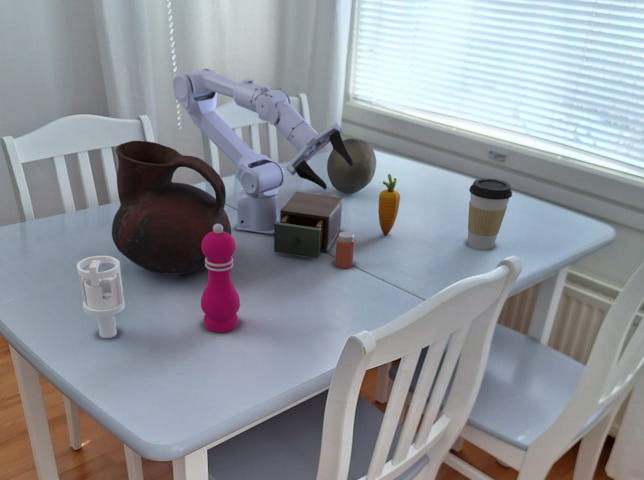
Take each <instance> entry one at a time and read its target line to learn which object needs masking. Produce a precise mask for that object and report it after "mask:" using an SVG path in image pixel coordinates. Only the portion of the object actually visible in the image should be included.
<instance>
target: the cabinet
mask: <svg viewBox="0 0 644 480" xmlns="http://www.w3.org/2000/svg"><path fill="white" fill-rule="evenodd" d="M342 210H343V197H339V196H332V195H325V194H317V193H309V192H302V191H295V193H294V194H293V195H292V196H291V198H289V200H288V201H287V202H286V203H285V204H284V205H283V206H282V207H281V209H280V211H279V221H280V223H281V220H282V219H283V218H284V217H285V216H286V215H287V214H288V215H295V216H302V217H309V218H316V219H323V220H326V222H325V239H324V244H323V245H322V247H321V249H320V251H319V252H324V253H327V252H328V251H329V250H330V248H331V246H332V245H333V243H334V242H335V240H336V239H337V238H338V236H339V233H341V224H342Z"/></svg>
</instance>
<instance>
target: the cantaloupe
mask: <svg viewBox="0 0 644 480" xmlns="http://www.w3.org/2000/svg"><path fill="white" fill-rule="evenodd" d="M342 141H343V143H344V146H345V148H346V150H347V152H348V154H349V156H350V157H351V159H352V160H353V163H354V165H353V166H350V165H349V164H348V163H347V162H346V161H345V159H344V158H343V157H342V156H341V155H340V154H339V153H338V152H337V151H335V150H334V149H333V148H332V150H331V152H330V153H329V156H328V157H327V163H326V171H327V176H328V177H327V178H328V179H329V182H330V184H331V186H332V187H333V188H334V189H335V190H336V191H338V192H340V193H342V194H348V195H349V194H350V195H351V194H355V193H358V192H360V191H362V190H363V189H364V188H366V187H367V186H368V185H369V184H370V183H371V182H372V180H373V178H374V177H375V173H376V171H377V170H376V169H377V156H376V153H375V152H374V149H373V147H372V146H371V144H369V142H367V141H365V140H363V139H359V138H347V139H346V138H345V139H342Z"/></svg>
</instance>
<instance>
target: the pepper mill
mask: <svg viewBox="0 0 644 480" xmlns="http://www.w3.org/2000/svg"><path fill="white" fill-rule="evenodd" d="M201 248H202V252H203V254H204V255H205V256H206V258H205V262H206V263H205V268H206V269H207V272H208V280H207V283H206V286H205V288H204V290H203V292H202V295H201V297H200V298H201V299H200V308H201V311H202V312H203V313H204V316H203V321H204V322H203V324H204V327H205V329H207V330H208V331H210V332H213V333H227V332H232V331H233V330H235V329H236V328H237V327H238V323H239V320H238V319H239V316H238V312H239V310H240V308H241V300H240V296H239V293H238V291H237V289H236V287H235V286H234V283H233V281H232V276H231V270H232V268H233V267H234V258H233V256H234V254H235V253H236V249H237V245H236V241H235V238H234V237H233V236H232V234H231V235H230V234H229V233H227V232H224V231H223V226H222V225H221V224H215V225H214V226H213V231H212V232H210V233H208V234H207V235H206V236H205V237H204V238H203V240H202V245H201Z"/></svg>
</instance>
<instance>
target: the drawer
mask: <svg viewBox="0 0 644 480" xmlns="http://www.w3.org/2000/svg"><path fill="white" fill-rule="evenodd" d="M325 222H326V220H323V219H316V218H309V217H302V216H295V215H288V214H287V215H286V216H285V217H284V218H283V219H282V220H281V223H279V222H276V223H275V224H274V234H273V236H274V237H273V252H274V253H277V254H283V255H284V254H285V255H290V256H298V257H305V258H311V259H319V258H320V252H321V251H320V249H321V247H322V245H323V244H324V239H325Z"/></svg>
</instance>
